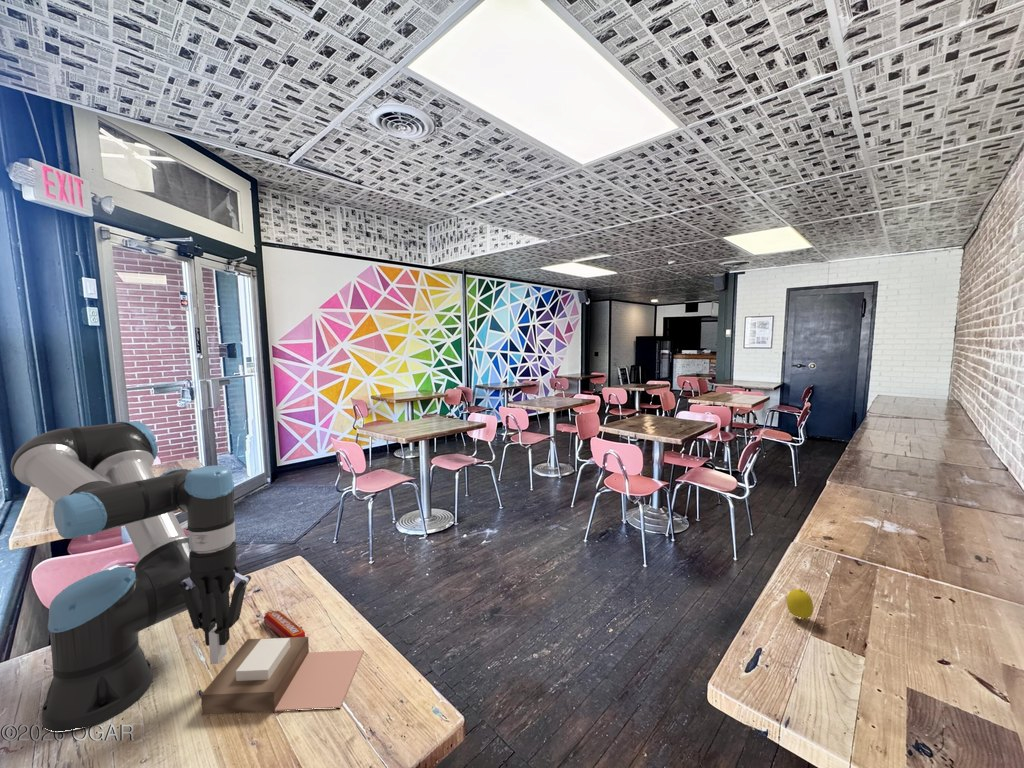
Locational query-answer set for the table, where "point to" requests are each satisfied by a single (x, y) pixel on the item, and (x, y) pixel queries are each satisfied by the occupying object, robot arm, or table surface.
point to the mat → (321, 680)
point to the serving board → (253, 682)
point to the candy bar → (283, 625)
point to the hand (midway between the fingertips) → (218, 658)
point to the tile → (263, 659)
